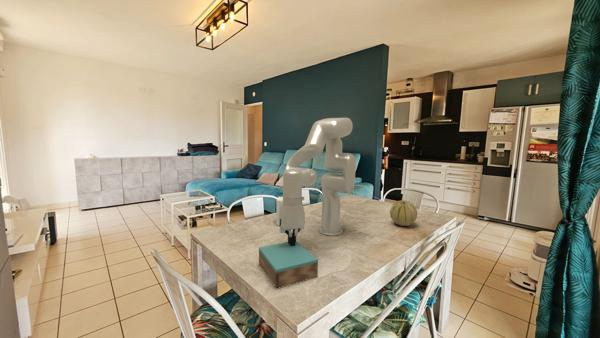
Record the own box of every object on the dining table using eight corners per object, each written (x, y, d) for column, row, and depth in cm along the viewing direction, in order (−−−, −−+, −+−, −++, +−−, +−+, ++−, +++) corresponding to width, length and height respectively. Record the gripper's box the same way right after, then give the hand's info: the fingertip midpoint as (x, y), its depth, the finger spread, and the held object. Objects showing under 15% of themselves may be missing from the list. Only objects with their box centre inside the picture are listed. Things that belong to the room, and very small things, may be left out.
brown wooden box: (295, 254, 105) (295, 242, 104) (317, 276, 88) (317, 262, 88) (259, 263, 97) (258, 250, 97) (276, 288, 81) (276, 273, 80)
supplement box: (291, 225, 140) (291, 200, 138) (276, 225, 140) (276, 200, 138) (292, 220, 149) (292, 196, 147) (277, 220, 149) (277, 196, 147)
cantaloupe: (411, 221, 149) (412, 197, 148) (420, 230, 135) (422, 203, 133) (386, 220, 151) (387, 196, 149) (393, 229, 136) (394, 202, 135)
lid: (295, 242, 104) (295, 240, 104) (317, 262, 88) (317, 259, 88) (258, 249, 97) (258, 247, 97) (276, 272, 80) (276, 269, 80)
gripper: (304, 197, 104) (303, 238, 106) (271, 200, 97) (271, 244, 99) (313, 201, 97) (312, 244, 100) (278, 205, 91) (278, 252, 93)
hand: (291, 244), depth 100 cm, fingers closed
